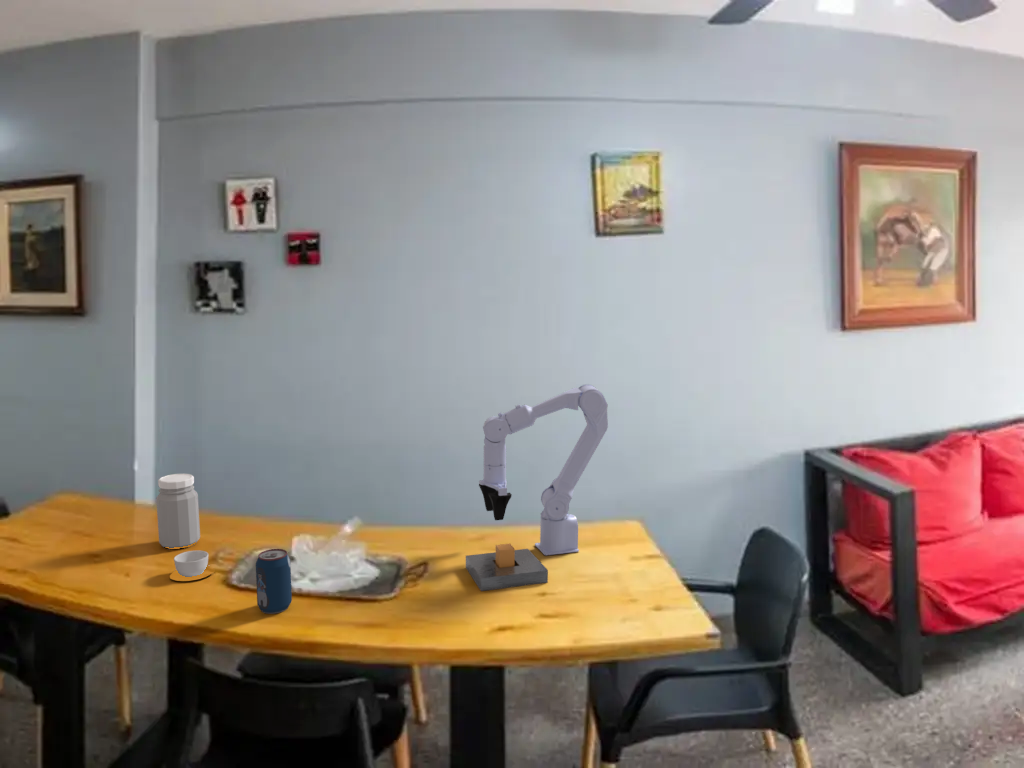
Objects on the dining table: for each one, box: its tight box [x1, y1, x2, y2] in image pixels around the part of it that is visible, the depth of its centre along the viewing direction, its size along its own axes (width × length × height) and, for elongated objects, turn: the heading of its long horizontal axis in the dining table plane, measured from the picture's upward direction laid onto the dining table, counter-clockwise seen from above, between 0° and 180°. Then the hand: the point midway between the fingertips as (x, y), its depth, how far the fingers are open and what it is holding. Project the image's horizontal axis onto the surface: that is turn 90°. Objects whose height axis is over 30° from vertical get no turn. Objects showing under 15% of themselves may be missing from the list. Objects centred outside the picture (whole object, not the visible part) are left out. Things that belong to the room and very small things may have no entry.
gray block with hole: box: [465, 548, 549, 592], centre depth 167 cm, size 16×14×3 cm
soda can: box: [255, 548, 293, 615], centre depth 149 cm, size 7×7×12 cm
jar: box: [155, 473, 201, 548], centre depth 184 cm, size 10×10×18 cm
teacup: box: [173, 550, 209, 577], centre depth 166 cm, size 10×10×5 cm
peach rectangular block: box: [495, 543, 516, 568], centre depth 167 cm, size 4×4×7 cm
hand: (494, 515), depth 182 cm, fingers open, 7 cm apart
